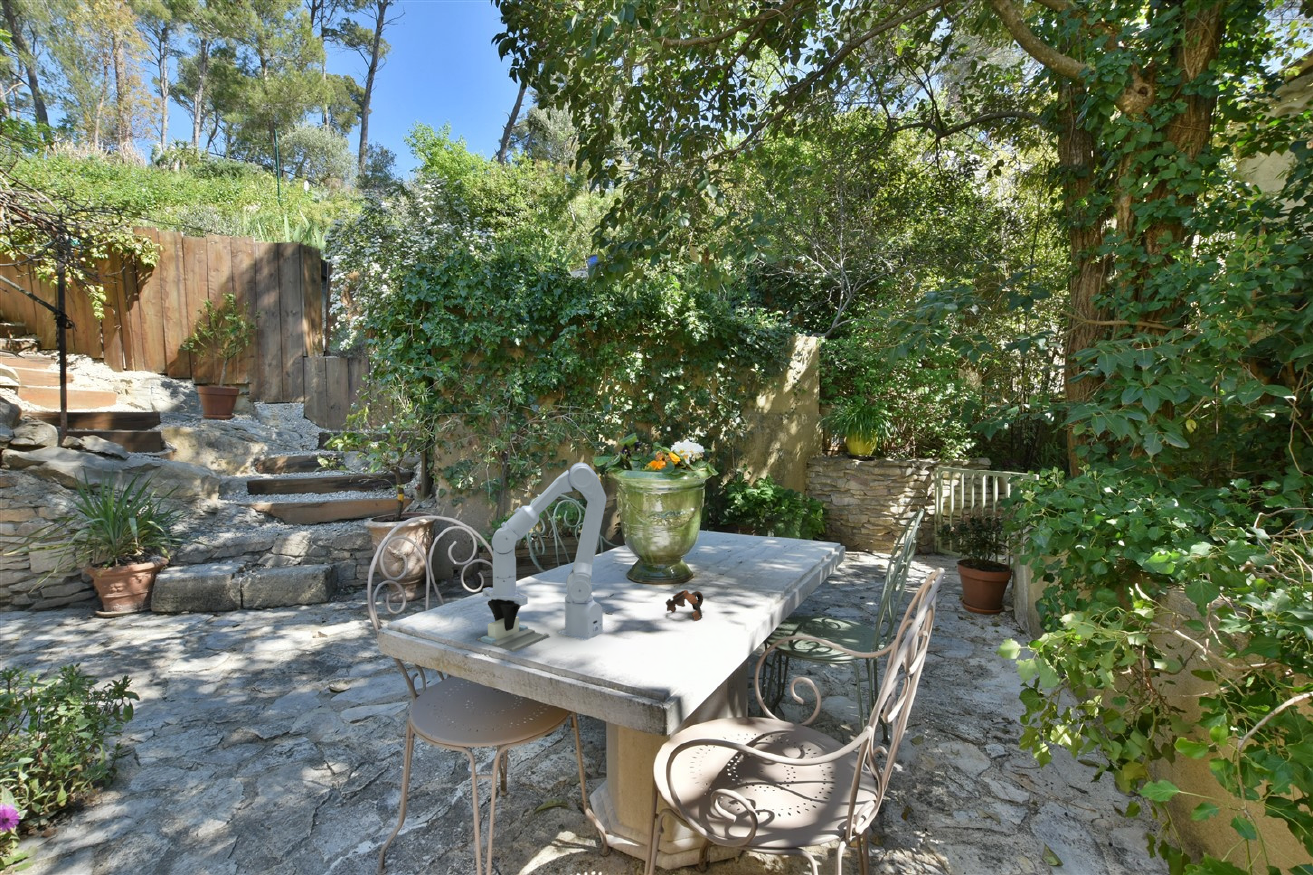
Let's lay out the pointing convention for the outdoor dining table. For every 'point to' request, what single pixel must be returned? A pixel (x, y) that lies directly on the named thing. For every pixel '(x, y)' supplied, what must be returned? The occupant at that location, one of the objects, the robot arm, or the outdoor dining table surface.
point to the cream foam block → (501, 629)
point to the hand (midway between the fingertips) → (505, 628)
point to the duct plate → (516, 639)
